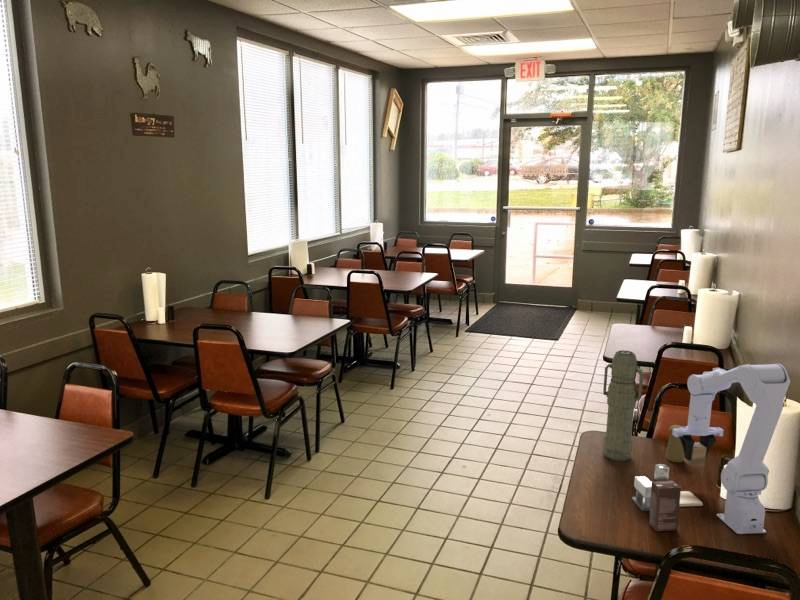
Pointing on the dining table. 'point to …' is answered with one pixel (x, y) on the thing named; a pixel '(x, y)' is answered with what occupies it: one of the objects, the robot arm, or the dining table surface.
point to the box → (664, 505)
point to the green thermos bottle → (621, 405)
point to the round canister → (661, 472)
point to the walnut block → (697, 456)
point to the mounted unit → (642, 492)
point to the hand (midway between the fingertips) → (694, 458)
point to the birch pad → (689, 499)
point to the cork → (674, 447)
